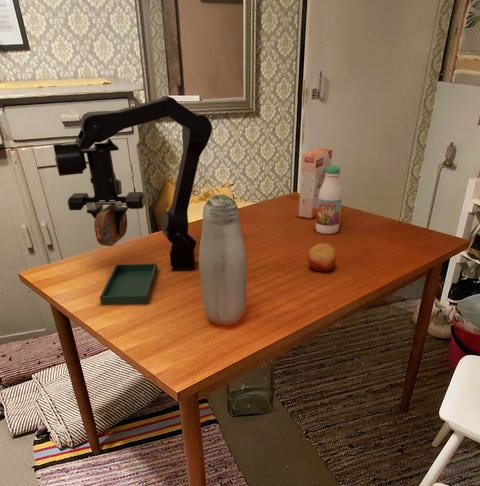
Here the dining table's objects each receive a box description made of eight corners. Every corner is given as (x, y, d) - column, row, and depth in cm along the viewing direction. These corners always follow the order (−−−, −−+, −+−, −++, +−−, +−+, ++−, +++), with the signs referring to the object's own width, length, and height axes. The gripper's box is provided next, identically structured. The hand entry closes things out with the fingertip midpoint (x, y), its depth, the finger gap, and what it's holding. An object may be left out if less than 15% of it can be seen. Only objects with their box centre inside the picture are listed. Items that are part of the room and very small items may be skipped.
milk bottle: (315, 226, 169) (320, 164, 157) (338, 227, 168) (344, 164, 156) (315, 234, 163) (320, 169, 151) (338, 234, 162) (345, 170, 150)
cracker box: (312, 219, 176) (317, 155, 163) (297, 217, 178) (300, 154, 166) (327, 209, 185) (333, 148, 173) (313, 207, 188) (317, 147, 175)
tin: (106, 251, 125) (102, 217, 120) (95, 249, 125) (90, 216, 120) (129, 231, 136) (126, 200, 131) (118, 230, 137) (115, 199, 132)
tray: (157, 270, 140) (156, 263, 138) (147, 304, 123) (146, 295, 121) (117, 271, 140) (115, 264, 138) (101, 304, 123) (99, 296, 121)
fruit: (340, 259, 141) (339, 240, 134) (332, 281, 139) (330, 263, 132) (313, 255, 144) (311, 236, 137) (305, 276, 141) (302, 258, 134)
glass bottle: (250, 328, 112) (250, 201, 95) (206, 333, 110) (198, 205, 94) (241, 309, 120) (240, 188, 103) (200, 314, 118) (191, 192, 101)
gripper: (145, 163, 127) (152, 224, 136) (73, 165, 127) (86, 225, 137) (137, 173, 118) (146, 237, 127) (60, 175, 118) (75, 239, 128)
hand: (113, 234), depth 130 cm, fingers closed on tin, 3 cm apart
